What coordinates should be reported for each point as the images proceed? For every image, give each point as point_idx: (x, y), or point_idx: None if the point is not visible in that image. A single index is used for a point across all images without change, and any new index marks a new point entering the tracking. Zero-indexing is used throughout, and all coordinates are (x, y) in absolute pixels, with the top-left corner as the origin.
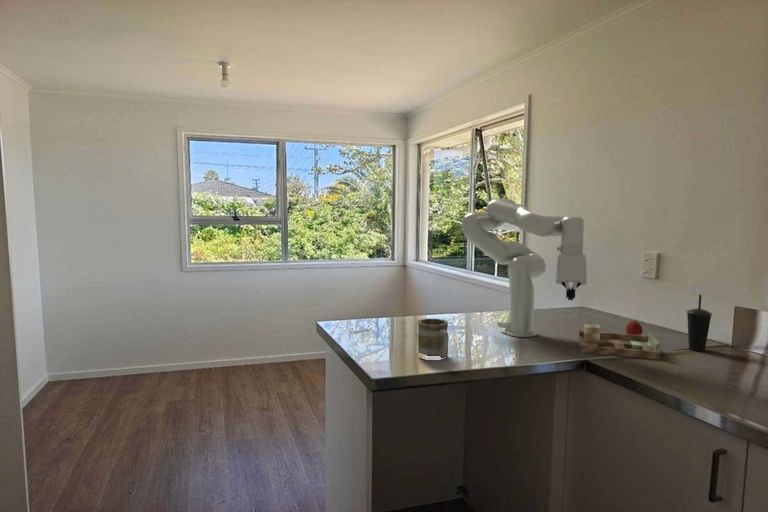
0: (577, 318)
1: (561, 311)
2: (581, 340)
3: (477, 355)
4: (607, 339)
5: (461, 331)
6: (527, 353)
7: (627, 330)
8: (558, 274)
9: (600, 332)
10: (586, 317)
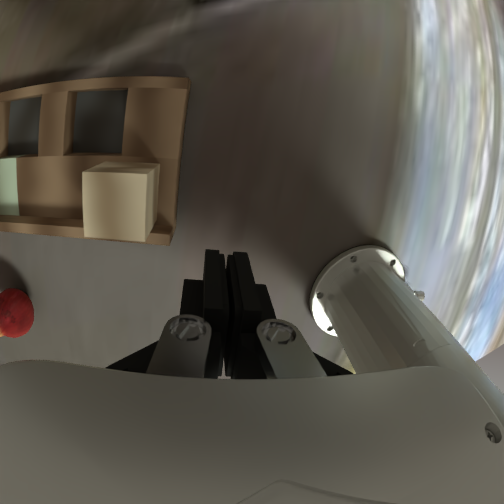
0: None
1: None
2: (173, 161)
3: (483, 60)
4: (76, 205)
5: (479, 271)
6: (383, 59)
7: (25, 306)
8: (500, 430)
9: None
10: None
